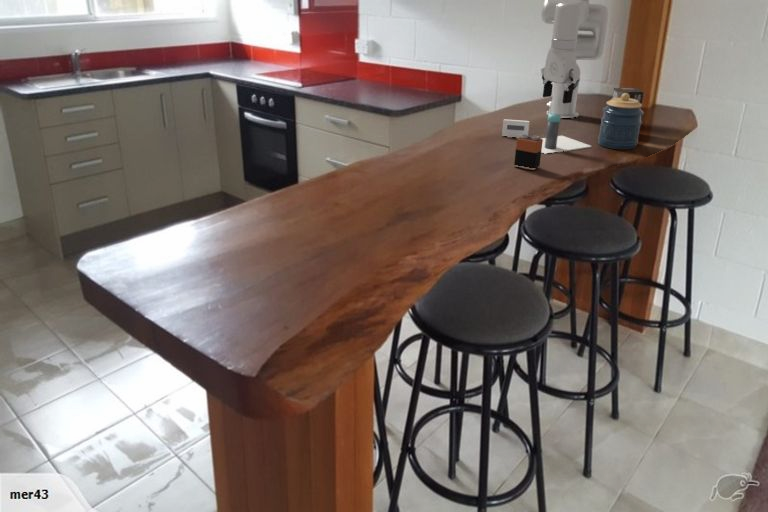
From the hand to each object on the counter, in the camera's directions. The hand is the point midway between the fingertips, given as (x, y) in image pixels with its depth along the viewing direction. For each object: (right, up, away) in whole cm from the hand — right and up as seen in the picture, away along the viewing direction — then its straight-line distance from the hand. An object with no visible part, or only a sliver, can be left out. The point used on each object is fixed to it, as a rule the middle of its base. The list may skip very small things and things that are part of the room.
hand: (556, 99), depth 199 cm
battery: (-13, -24, -11) cm, 29 cm away
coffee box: (+30, -7, +24) cm, 40 cm away
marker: (0, -14, +7) cm, 16 cm away
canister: (+24, -13, +12) cm, 30 cm away
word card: (-9, -8, +20) cm, 23 cm away
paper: (+2, -13, +11) cm, 17 cm away
